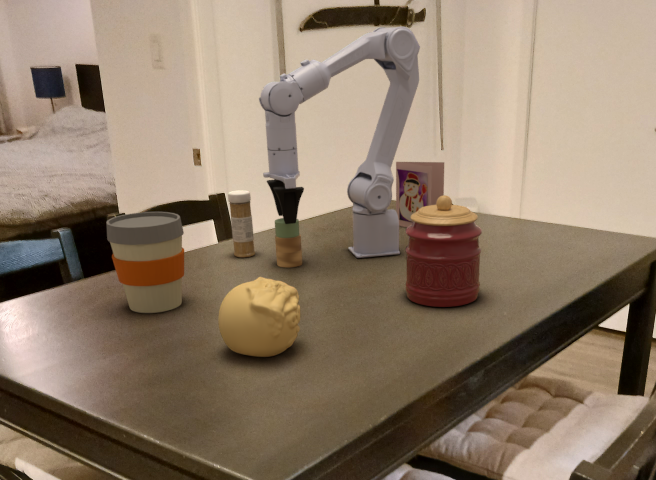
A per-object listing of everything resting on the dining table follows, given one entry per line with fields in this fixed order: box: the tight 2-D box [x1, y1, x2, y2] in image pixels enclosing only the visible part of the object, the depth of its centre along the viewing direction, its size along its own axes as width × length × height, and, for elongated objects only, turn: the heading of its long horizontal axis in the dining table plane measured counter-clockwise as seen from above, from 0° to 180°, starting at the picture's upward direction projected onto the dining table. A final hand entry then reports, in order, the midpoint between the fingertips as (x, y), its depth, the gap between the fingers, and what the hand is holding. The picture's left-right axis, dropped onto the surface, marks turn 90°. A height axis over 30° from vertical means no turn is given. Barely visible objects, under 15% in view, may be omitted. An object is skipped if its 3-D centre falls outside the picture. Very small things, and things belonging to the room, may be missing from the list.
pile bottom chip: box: [275, 249, 303, 269], centre depth 155 cm, size 5×5×3 cm
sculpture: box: [217, 276, 301, 358], centre depth 111 cm, size 11×12×11 cm
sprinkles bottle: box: [227, 189, 256, 258], centre depth 160 cm, size 5×5×14 cm
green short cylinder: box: [274, 217, 300, 238], centre depth 153 cm, size 5×5×3 cm
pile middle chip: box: [274, 233, 303, 253], centre depth 154 cm, size 5×5×3 cm
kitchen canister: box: [405, 195, 483, 308], centre depth 131 cm, size 13×13×18 cm
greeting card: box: [395, 161, 445, 229], centre depth 180 cm, size 11×7×15 cm, turn 43°
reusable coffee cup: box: [106, 211, 185, 314], centre depth 131 cm, size 13×13×15 cm
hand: (287, 219), depth 152 cm, fingers open, 7 cm apart
